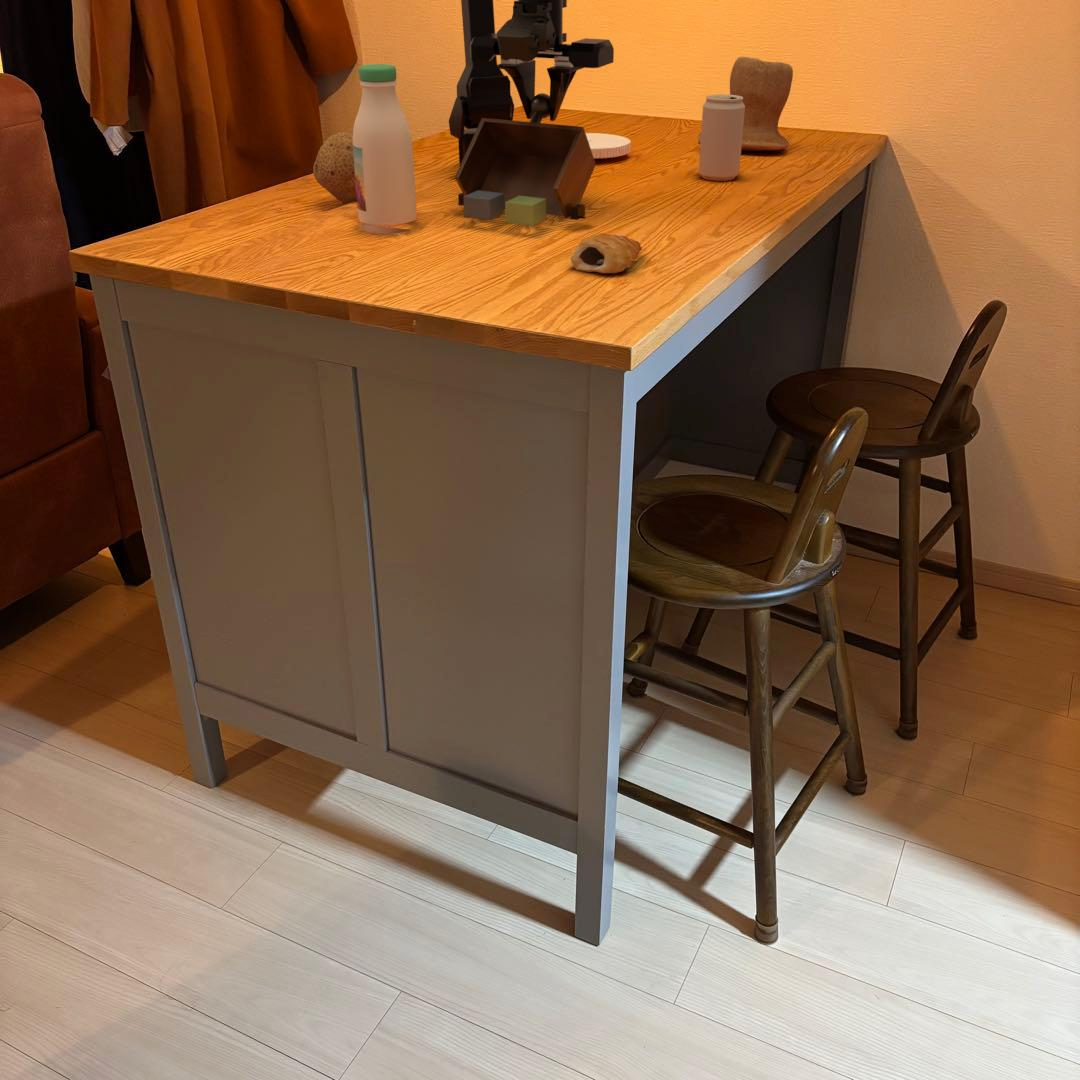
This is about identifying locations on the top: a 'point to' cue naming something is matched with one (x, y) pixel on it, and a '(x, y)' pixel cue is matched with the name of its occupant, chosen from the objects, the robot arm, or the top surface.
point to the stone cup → (761, 101)
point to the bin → (529, 160)
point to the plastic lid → (608, 145)
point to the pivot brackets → (576, 211)
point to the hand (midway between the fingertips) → (541, 119)
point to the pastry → (605, 253)
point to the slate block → (484, 205)
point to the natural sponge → (337, 167)
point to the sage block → (525, 210)
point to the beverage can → (721, 137)
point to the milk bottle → (382, 154)
